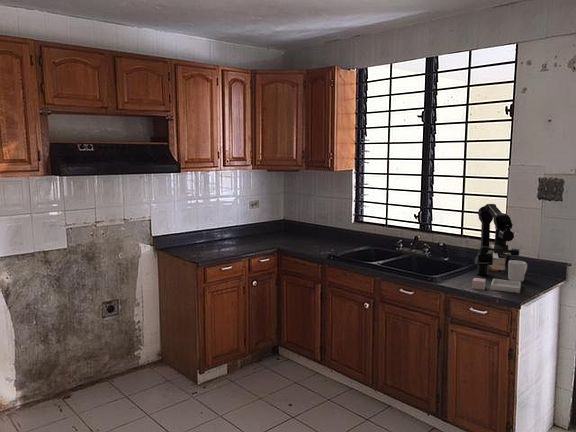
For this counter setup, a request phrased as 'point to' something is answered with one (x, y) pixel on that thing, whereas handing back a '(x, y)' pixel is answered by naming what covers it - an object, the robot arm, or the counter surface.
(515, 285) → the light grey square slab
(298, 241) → the counter surface
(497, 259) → the oak block
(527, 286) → the counter surface
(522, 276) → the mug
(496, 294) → the counter surface
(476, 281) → the rose box
